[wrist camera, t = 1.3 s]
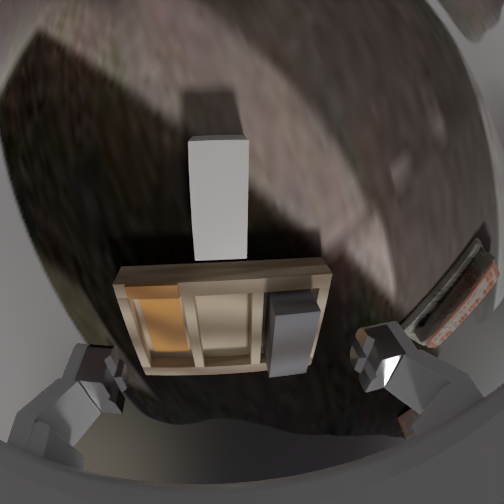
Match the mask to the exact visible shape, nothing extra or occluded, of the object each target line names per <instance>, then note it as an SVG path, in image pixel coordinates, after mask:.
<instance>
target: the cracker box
mask: <svg viewBox="0 0 504 504" xmlns="http://www.w3.org/2000/svg"><path fill="white" fill-rule="evenodd" d="M419 415H420V414H418V413H417V412H416V411H414V410H413V409H412V408H411V409H409V410H408V411H406V412H405V413H403V414H402V415H400V416H399V417H397V419H398V422H399V424H400V426H401V428H402V430H403V433H404V435H405V437H406V439H407V440H410V439H412V438H414V437H416V434H415V432H414V430H413V428H412V424H413V422H414V421H415V420H416V419H417V418H418V416H419Z"/></svg>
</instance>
